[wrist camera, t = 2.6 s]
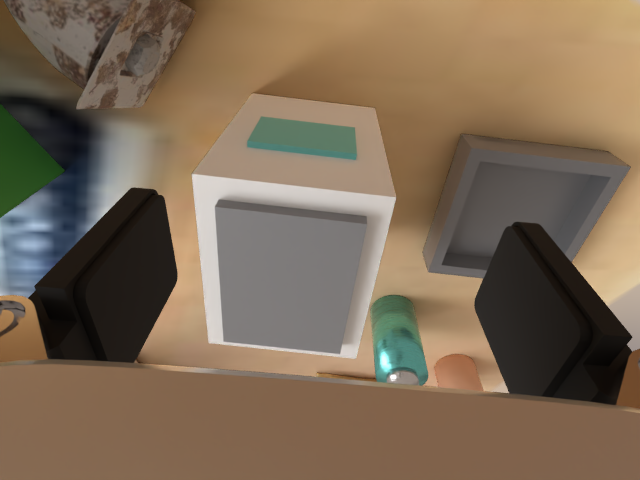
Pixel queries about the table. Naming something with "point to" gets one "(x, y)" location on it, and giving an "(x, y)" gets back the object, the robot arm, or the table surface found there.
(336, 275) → the unit
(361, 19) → the table surface
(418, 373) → the cylinder
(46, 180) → the hardback book
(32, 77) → the table surface
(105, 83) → the caster wheel
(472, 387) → the terracotta cartridge
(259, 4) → the table surface
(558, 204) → the tray
